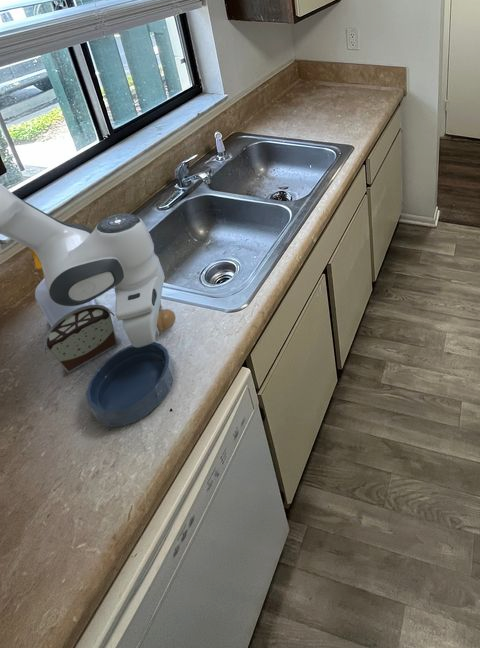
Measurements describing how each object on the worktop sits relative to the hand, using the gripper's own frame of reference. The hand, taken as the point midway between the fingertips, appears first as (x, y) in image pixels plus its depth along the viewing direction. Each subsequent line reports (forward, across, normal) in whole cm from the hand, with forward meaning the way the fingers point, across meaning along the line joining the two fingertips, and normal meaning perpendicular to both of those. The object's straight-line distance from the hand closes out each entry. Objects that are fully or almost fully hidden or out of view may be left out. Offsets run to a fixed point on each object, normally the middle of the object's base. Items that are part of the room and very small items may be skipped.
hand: (157, 323), depth 99 cm
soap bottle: (+3, -13, -20) cm, 24 cm away
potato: (+2, 0, 0) cm, 2 cm away
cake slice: (+3, -1, -14) cm, 14 cm away
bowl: (+3, +13, -3) cm, 14 cm away
